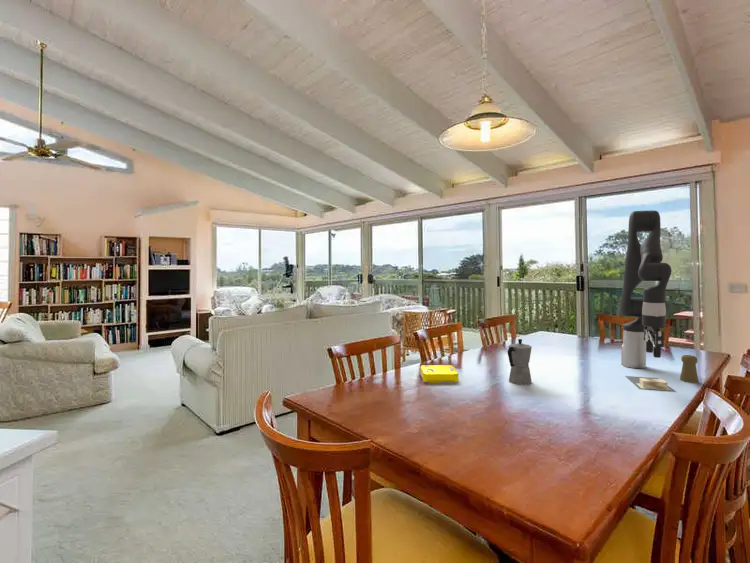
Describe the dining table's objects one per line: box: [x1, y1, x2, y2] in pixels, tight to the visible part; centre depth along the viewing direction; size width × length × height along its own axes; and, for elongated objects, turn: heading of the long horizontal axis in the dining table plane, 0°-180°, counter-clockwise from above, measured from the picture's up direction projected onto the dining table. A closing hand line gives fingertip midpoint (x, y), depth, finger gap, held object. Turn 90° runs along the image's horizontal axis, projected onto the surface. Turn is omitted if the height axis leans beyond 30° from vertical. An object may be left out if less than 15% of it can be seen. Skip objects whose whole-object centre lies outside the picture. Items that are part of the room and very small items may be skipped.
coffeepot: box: [507, 338, 533, 385], centre depth 163 cm, size 15×9×18 cm, turn 129°
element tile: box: [419, 364, 459, 384], centre depth 171 cm, size 15×15×5 cm
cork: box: [679, 354, 699, 384], centre depth 161 cm, size 6×6×11 cm
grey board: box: [625, 375, 677, 393], centre depth 158 cm, size 20×12×1 cm, turn 161°
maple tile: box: [640, 378, 668, 389], centre depth 153 cm, size 8×4×2 cm, turn 71°
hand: (653, 354), depth 153 cm, fingers open, 8 cm apart
